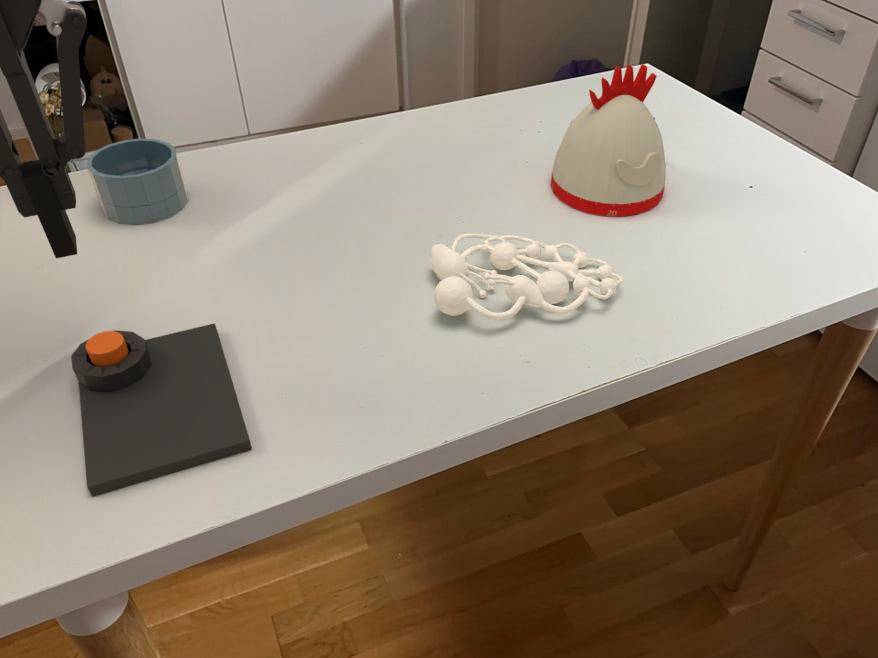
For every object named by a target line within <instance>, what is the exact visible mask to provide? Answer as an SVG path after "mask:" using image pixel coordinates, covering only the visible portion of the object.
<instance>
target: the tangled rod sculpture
mask: <svg viewBox="0 0 878 658" xmlns="http://www.w3.org/2000/svg"><path fill="white" fill-rule="evenodd" d="M465 239H484V241H483V244H481V243H480V244H477V245H472V246H471V247H469V248H466V249H465V250H464V251H463V252H462V253H460V252H458V251H456V249H457V246H458V244H459V242H460V241H462V240H465ZM511 240H513V241H518V242H519V241H520V242H524V243H527V245H526V247H525V248H519V249H518V248H517V247H516V246H515V245H514V244H513V243H511V242H507V241H511ZM495 241H497V242H498V243H496V244H495V245H494V246H493V245H492V244H491V245H490V243H491V242H495ZM563 247H566V248H570V249H572V250H574V251H575V252H576V253H575V254H574V255H573V256H572V259H571V260H572V261H564V260H563V259H562V257H561V256H560V254H561V253H560V248H563ZM542 248H543V252H542ZM479 252H486V253H490V255H489V256H490V261H491V264H492V266H494V267H495V268H496V269H498V270H500V271H509V270H511V269H513V268H515V267H517V268H519V269H520V270H522V271H523V272H524V273H526V274H528V275H530V276H532V277H533V278H535V279H536V280H535V281H536V282H535V281H534V280H532V279H531V278H529V277H528V276H526V275H523V274H517V275H514V276H509V275H505V274H498V272H497V270H495V269H492V270H489V269H486V268H482V267H479V266H475V265H473V264H472V263H471V264H470V263H468V262H467V259H468V258H469V257H471V256H472V255H473V254H475V253H479ZM542 253H543V257H544V259H546V260H547V261H544V260H543V259H538V258H539V257H540V255H541V254H542ZM429 257H430V266H431V269H432V271H433V272H434V273H435V275H436V277H437V278H438V279H439V280H440V281H439V282H438V284H437V285H436V287H435V289H434V293H433V300H434V304H435V306H436V307H437V309H438V310H439V311H440V312H441V313H443V314H445V315H447V316H452V317H453V316H460V315H463V314H464V313H466V312H467V311H468V310H469V309H470V308H471V310H473V311H475V312H476V313H477V314H478V315H480V316H482V317H483V318H486V319H489V320H492V321H504V320H508V319H511V318H513V317H514V316H516V315H517V313H518V312H519V311H520V310H521V309H522V308H523V306H524V304H525V305H528V306H530V307H533V308H536V309H540V308H542V309H543V310H545V311H547V312H550V313H551V314H556V315H567V314H569V313H572V312H574V311H575V310H576V309H578V308H579V307H580V306H581V305H582V304H584V303H585V301H586V300H587V298H588V297H589V295H591V296H592V297H594V298H596V299H598V300H608V299H609V298H610V297H611V296H612V294H614V293H615V292H616V290H617V286H619V285H621V284H623V283H624V280H625V278H624V276H621V275H619V274H618V273H615V272H614V269H613V267H612V266H611V265H609V264H608V263H607V262H606V261H604V260H601V259H598V258H596V257H590V256H588V255H587V254H586V253H585V252H583V251H581V250H580V248H579V247H577V246H576V245H574V244H573V243H570V242H560V243H557V244H556V245H555V244H546V243H544V242H541V241H537V240H535V239H531V238H528V237H524V236H520V235H513V234H511V235H509V234H507V235H505V234H504V235H493V234H486V233H463V234H461V235H460V234H459V235H458V236H457V237H456V238H454V240H453V241H452V244H451V248H450V247H449V246H447V245H446V244H442V243H436V244H434V245H433V246H431V249H430V254H429ZM523 262H524V263H523ZM589 262H592V263H596V264H599V265H600V266H599V267H598V268H597V269H583V268H584V267H586V266H587V265H589ZM525 263H527V264H530V265H535V266H538V267H543V268H545V269H547V271H544V272H542V273H539V272H538V271H536V270H534V269H533V268H531V267H530V266H528V265H527V264H525ZM470 269H471V270H470ZM472 270H473V271H472ZM474 271H476V272H480V273H483V275H480V274H478V273H476V272H474ZM468 275H470V276H472V277H475V278H476V279H478V280H480V281H481V282H483V283H484V284H485V286H487V288H488V290H490V291H493V290H494V289H496V284H502V285H505V295H506V297H507V298H508V299H509V300H510V301H513V302H515V303H514V304H513V306H512V307H510V309H508V310H507V311H503V312H494V311H491V310H488V309H487V308H485V307H483V306H482V305H481V304H479V303H478V302H477V301H475V300H474V291H473V288H472V286H473V287H474V288H475V289H476V290H477V292H478V296H479V297H480V298H482V299H485V298H486V297H487V296H488V292H487V290H484V289H482V288H481V287H480V285H479V284H477V283H476V282H475V281H474V280H472V278H469V277H468ZM592 277H598V280H597V279H594V278H592ZM614 278H615V279H617V280H616V281H615V279H614ZM599 280H601V281H599ZM571 282H572V288H573V291H575V293H578V294H580V295H579V296H578V297H577V298H576V299H575V300H574V301H572V302H571V303H570V304H569V305H566V306H559V305H556V304H559V303H561V302H563V301H564V300H565V299H566V297H567V296H568V295H569V291H570V283H571ZM591 286H594V287H597V288H599V290H600V292H601V293H602V294H599V293H597V292H595V291H594V290H593V289H591V288H590V287H591ZM603 294H604V295H603Z"/></svg>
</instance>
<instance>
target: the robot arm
mask: <svg viewBox="0 0 878 658" xmlns="http://www.w3.org/2000/svg"><path fill="white" fill-rule="evenodd" d="M38 13H41V14H42V15H43V16H44V18H45V26H46V29H47V32H48V33H49V34H50V35H52V36H53V37H55V39H56V52H57V53H56V54H57V65H58V75H59V76H58V77H59V87H60V98H61V109H62V110H61V111H62V121H63V122H62V123H63V132H64V134H63V135H61V136H59V137H57V138H56V136H55V132H54V131H53V128H52V125H51V123H50V120H49V117H48V115H47V111H46V109H45V107H44V104H43V101H42V99H41V96H40V94H39V91H38V88H37V86H36V83H35V81H34V78H33V75H32V72H31V70H30V67H29V65H28V62H27V60H26V59H27V58H26V56H25V52H24V49H25V47H26V46H27V42H28V41H29V38H30V35H31V33H32V30H33V27H34V25H35V21H36V19H37V16H38ZM87 28H88V20H87V16H86V10H85V7H84V6H83V5H82V3H80V2H79V1H75V0H69V1H68V2H66V1H64V0H0V70H1V73H2V75H3V77H5V80H6V82H7V85H8V87H9V89H10V92H11V95H12V97H13V99H14V101H15V104H16V107H17V109H18V112H19V114H20V116H21V117H20V118H21V119H22V121H23V124H24V126H25V129H26V131H27V133H28V134H27V135H28V136H29V139H30V141H31V143H32V147H33V148H34V151H35V153H36V156H37V159H35V160H29V161H21V152H20V149H18V148H17V146H16V144H15V141H14V138H13V135H12V133H11V132H10V129H9V126H8V124H7V122H6V119H5V117H4V115H3V112H2V110H1V109H0V178H1V179H2V180H3V181H4V183H5V185H6V187H7V189H8V192H9V194H10V196H11V199H12V201H13V203H14V205H15V207H16V209H17V212H18V214H20V215H21V216H22V217H23V218H29V217H34V216H37V218H38V220H39V223H40V225H41V227H42V229H43V231H44V234H45V237H46V240H47V241H48V244H49V246H50V249H51V250H52V253H53V255H54V257H55V259H61V258H66V257H70V256H75V255H78V245H77V236H76V234H75V233H76V232H75V231H74V228H73V226H72V222H71V221H70V218H69V215H68V213H67V210H71V209H76V207H77V196H76V195H77V194H76V190H75V188H74V186H73V183H72V181H71V177H70V175H69V172H68V169H67V164H68V163H69V162H70V161H72V160H74V159H75V160H79V159H82V158H84V157H85V155H86V151H87V150H86V138H85V137H86V136H85V125H84V112H83V111H84V110H83V109H84V108H83V97H82V83H81V70H80V69H81V68H80V67H81V66H80V54H79V50H80V47H81V44H82V41H83V39H84V36H85V33H86V29H87Z"/></svg>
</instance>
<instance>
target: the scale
mask: <svg viewBox="0 0 878 658" xmlns="http://www.w3.org/2000/svg"><path fill="white" fill-rule="evenodd" d="M113 331H115V332H118V333H120V334H121V335H122V336H123V338H124V340H125V343H126V345H127V348H128V356H127V357H126V359H124V360H122V361H121V362H119V363H118V364H115V365H111V366H107V367H99V366H96V365H94V364H93V363H92V361H91V359H90V357H89V354H88V352H87V350H86V343H87V341H88V340H89V339H90V338H88V339H86V340H85V341H83V342H81V343H80V344H79V345H78V346H77V348H76V349H75V350H74V351H73V353H72V355H71V358H70V359H71V368H72V370H73V372H74V375H75V377H76V380H77V381H78V393H79V400H80V401H79V404H80V405H79V406H80V415H81V416H80V418H81V428H82V429H81V430H82V440H83V441H82V442H83V453H84V463H85V464H84V466H85V477H86V488H87V490H88V492H89V494H90V496H91V497H97V496H100V495H103V494H107V493H111V492H114V491H117V490H120V489H124V488H127V487H131V486H134V485H137V484H141V483H144V482H147V481H151V480H155V479H159V478H160V477H165V476H168V475H171V474H174V473H175V474H176V473H178V472H182V471H185V470H189V469H192V468H195V467H200V466H201V465H205V464H208V463H213V462H216V461H218V460H222V459H226V458H229V457H232V456H236V455H239V454H242V453H246V452H249V451H252V450H253V447H252V444H251V443H252V442H251V440H250V436H249V433H248V430H247V427H246V423H245V420H244V416H243V413H242V410H241V406H240V403H239V399H238V396H237V393H236V389H235V387H234V382H233V379H232V376H231V373H230V369H229V366H228V363H227V360H226V356H225V352H224V349H223V346H222V341H221V339H220V336H219V333H218V329H217V326H216V323H210V324H206V325H202V326H198V327H193V328H190V329H184V330H181V331H177V332H172V333H168V334H163V335H160V336H155V337H152V338H147V339H145V338H143V337H142V336H140V335H139V334H137V333H136V332H134V331H128V330H113Z"/></svg>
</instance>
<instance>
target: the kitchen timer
mask: <svg viewBox="0 0 878 658" xmlns="http://www.w3.org/2000/svg"><path fill="white" fill-rule="evenodd" d="M647 75H648V66H647V65H645V64H644V63H641V64H640V67H639V69H638V72H637V73H636V76H635V77H634V67H633V66H632V65H631V64H629V63H627V65H626V68H625V72H624V75H623V71H622V68H621V67H619V66H618V65H616V66H615V68H614V70H613V75H612V78H611V82H610V83H609V81H608V80H607V79H606V78H605V77H601V79H600V80H601V81H600V82H601V83H600V84H601V95H600V96H597V95H596V93H595V92H594V91H593V90H591V89H589V90H588V93H589V98H590V101H591V102H589V103H587V104H586V106H584V107H583V109H581V111H579V113H578V114H577V115H576V116H575V117H574V118H573V119H571V120H570V122H569V126H567V127H568V128H567V129H566V131H565V133H564V135H563V138H562V139H561V142H560V144H559V146H558V149H557V151H556V154H555V157H554V161H553V165H552V169H551V177H550V187H551V190H552V193H553V194H554V195H555V196H556V198H557V199H559V200H560V202H561V203H563V204H565V205H567V206H569V207H570V208H572V209H575V210H577V211H581V212H583V213H586V214H591V215H596V216H600V217H601V216H602V217H618V218H619V217H628V216H636V215H639V214H643V213H646V212H649V211H650V210H652V209H654V208H655V207H657V206H658V205H659V204H660V202H661V200H662V199H663V197H664V192H665V188H666V181H667V179H666V178H667V177H666V175H667V174H666V167H667V166H666V165H667V164H666V155H665V147H664V141H663V137H662V134H661V130H660V128H659V125H658V123H657V121H656V118H655V116H654V115H653V114H652V112H651V111H650V110H649V108H648V107H647V105H646V104H645V103H644V102H645V100H646V98H647V96H648V94H649V93H650V91H651V90H652V88H653V86H654V84H655V83H656V82H655V81H656V80H657V74H655V73H654V72H651V73H650V74H649V75H648V77H647Z"/></svg>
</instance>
